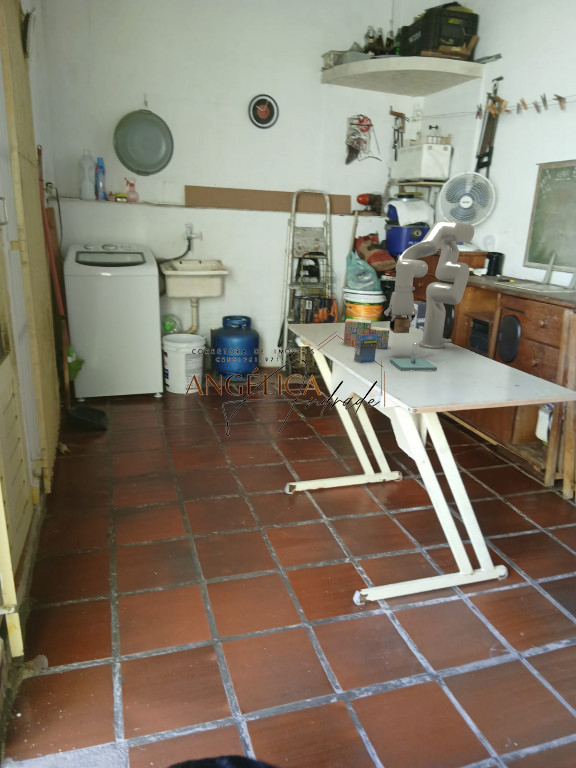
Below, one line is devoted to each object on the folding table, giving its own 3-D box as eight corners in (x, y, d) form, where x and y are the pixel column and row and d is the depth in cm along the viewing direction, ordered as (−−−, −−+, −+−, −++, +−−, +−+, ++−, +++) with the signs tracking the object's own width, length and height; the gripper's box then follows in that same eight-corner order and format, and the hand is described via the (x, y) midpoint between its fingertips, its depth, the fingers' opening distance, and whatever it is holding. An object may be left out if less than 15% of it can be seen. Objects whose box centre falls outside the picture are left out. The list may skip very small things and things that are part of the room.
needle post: (414, 362, 240) (416, 342, 237) (416, 363, 238) (418, 343, 235) (410, 362, 240) (412, 342, 237) (411, 363, 238) (414, 343, 235)
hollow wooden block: (403, 329, 255) (405, 316, 253) (408, 333, 248) (410, 319, 246) (390, 329, 254) (391, 316, 252) (394, 333, 247) (396, 320, 245)
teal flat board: (424, 361, 247) (424, 358, 247) (436, 370, 234) (437, 367, 234) (389, 361, 245) (390, 358, 244) (400, 370, 231) (401, 367, 231)
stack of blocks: (387, 346, 273) (390, 322, 269) (387, 349, 267) (389, 324, 263) (344, 342, 277) (346, 318, 273) (343, 345, 271) (345, 320, 268)
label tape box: (369, 358, 249) (372, 331, 245) (375, 360, 245) (377, 333, 241) (353, 360, 244) (356, 333, 241) (359, 362, 241) (361, 335, 237)
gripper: (418, 288, 250) (414, 327, 255) (381, 288, 247) (378, 327, 253) (425, 291, 243) (420, 331, 248) (387, 291, 240) (383, 331, 246)
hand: (399, 328), depth 251 cm, fingers closed on hollow wooden block, 6 cm apart
